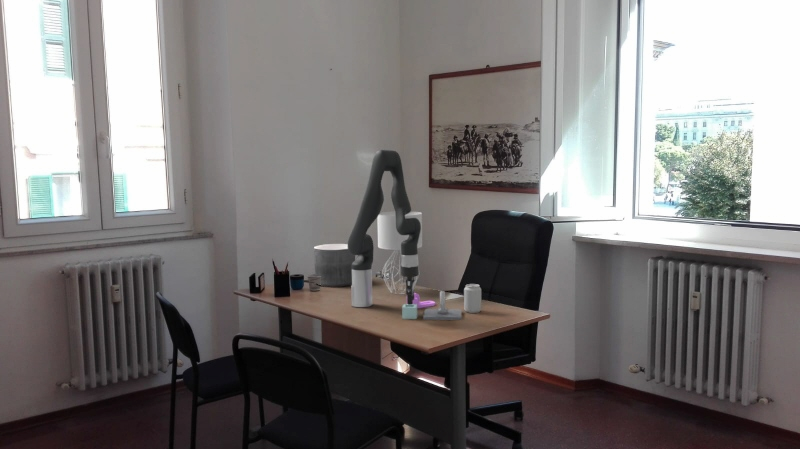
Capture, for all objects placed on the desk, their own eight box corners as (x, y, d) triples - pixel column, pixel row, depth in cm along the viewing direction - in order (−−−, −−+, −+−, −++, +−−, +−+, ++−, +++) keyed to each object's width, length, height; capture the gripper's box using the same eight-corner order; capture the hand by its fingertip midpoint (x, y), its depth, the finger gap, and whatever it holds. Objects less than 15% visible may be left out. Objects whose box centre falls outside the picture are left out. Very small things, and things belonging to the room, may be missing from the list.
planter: (354, 286, 348) (353, 249, 345) (312, 287, 347) (311, 250, 345) (356, 278, 370) (355, 243, 367) (317, 279, 369) (316, 244, 367)
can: (470, 314, 286) (470, 287, 284) (460, 310, 292) (460, 284, 291) (484, 312, 289) (484, 285, 288) (475, 308, 296) (474, 282, 294)
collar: (402, 318, 280) (402, 307, 279) (403, 315, 286) (403, 304, 285) (416, 319, 279) (416, 307, 279) (417, 315, 285) (417, 304, 285)
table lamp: (369, 292, 333) (368, 214, 328) (398, 285, 349) (397, 210, 345) (403, 298, 318) (401, 216, 314) (431, 290, 335) (430, 212, 330)
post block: (423, 319, 278) (422, 295, 277) (425, 311, 292) (424, 288, 291) (461, 320, 276) (460, 295, 275) (461, 311, 290) (461, 288, 289)
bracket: (412, 309, 297) (412, 294, 297) (406, 306, 302) (406, 291, 302) (437, 305, 303) (437, 290, 303) (431, 303, 308) (431, 288, 307)
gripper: (402, 262, 287) (403, 298, 289) (399, 267, 273) (400, 305, 275) (419, 262, 287) (420, 298, 288) (417, 267, 273) (418, 305, 274)
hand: (410, 302), depth 282 cm, fingers open, 8 cm apart
